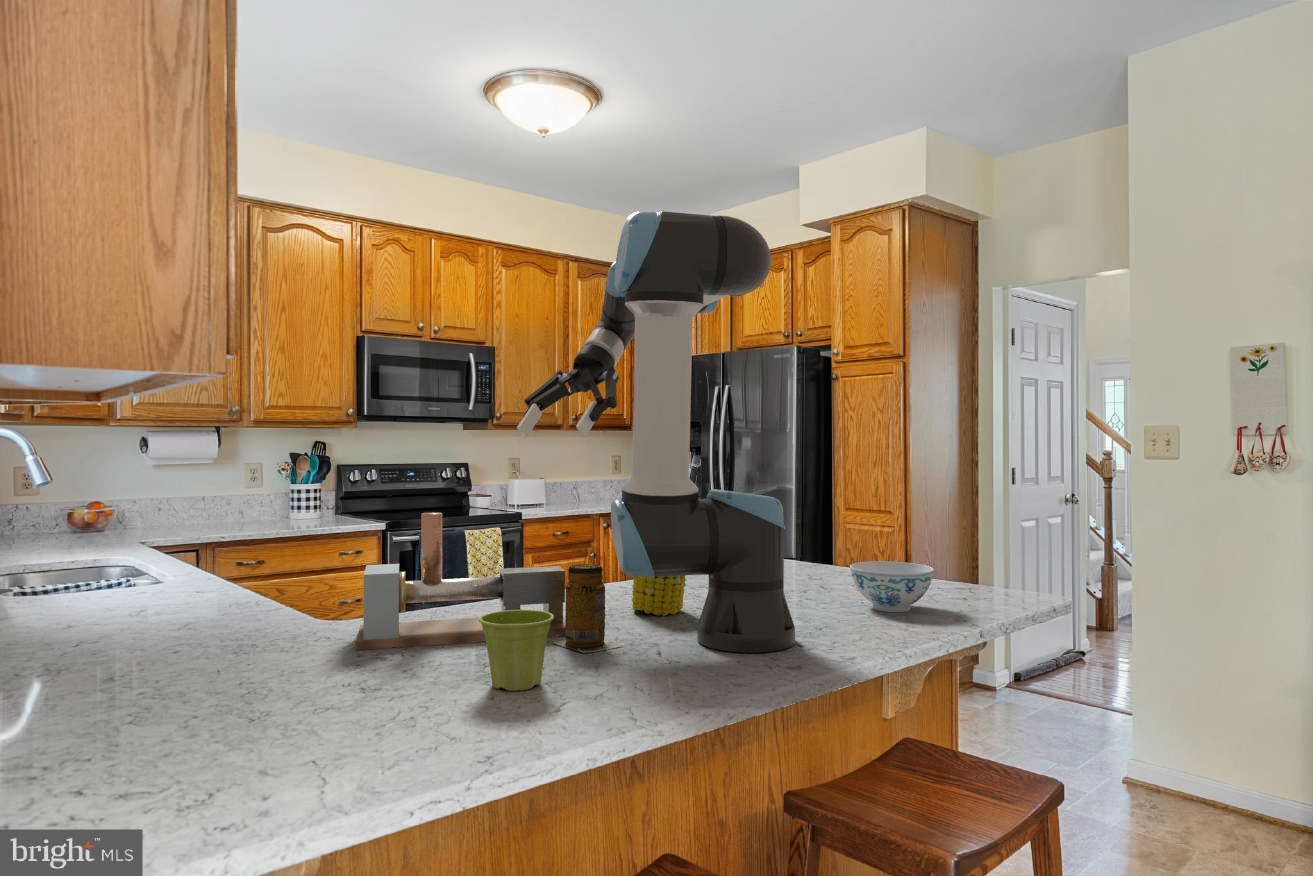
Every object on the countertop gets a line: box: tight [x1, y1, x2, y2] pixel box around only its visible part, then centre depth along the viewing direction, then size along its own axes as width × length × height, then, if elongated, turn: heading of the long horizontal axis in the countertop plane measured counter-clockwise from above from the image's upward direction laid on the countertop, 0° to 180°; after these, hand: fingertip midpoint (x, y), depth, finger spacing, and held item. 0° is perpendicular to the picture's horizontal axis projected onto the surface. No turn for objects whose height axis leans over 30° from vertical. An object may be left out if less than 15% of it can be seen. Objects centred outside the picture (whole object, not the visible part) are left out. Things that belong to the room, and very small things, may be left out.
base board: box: [355, 617, 565, 651], centre depth 130 cm, size 32×12×1 cm, turn 107°
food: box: [631, 575, 687, 617], centre depth 147 cm, size 15×12×10 cm
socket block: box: [363, 563, 400, 640], centre depth 126 cm, size 5×10×10 cm, turn 17°
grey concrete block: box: [499, 565, 566, 624], centre depth 133 cm, size 10×5×9 cm, turn 107°
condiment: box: [552, 563, 623, 654], centre depth 123 cm, size 7×8×12 cm
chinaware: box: [849, 560, 935, 613], centre depth 150 cm, size 15×15×8 cm
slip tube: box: [399, 512, 503, 614], centre depth 129 cm, size 20×6×16 cm, turn 107°
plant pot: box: [478, 609, 554, 692], centre depth 103 cm, size 9×9×9 cm
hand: (550, 432), depth 146 cm, fingers open, 13 cm apart
